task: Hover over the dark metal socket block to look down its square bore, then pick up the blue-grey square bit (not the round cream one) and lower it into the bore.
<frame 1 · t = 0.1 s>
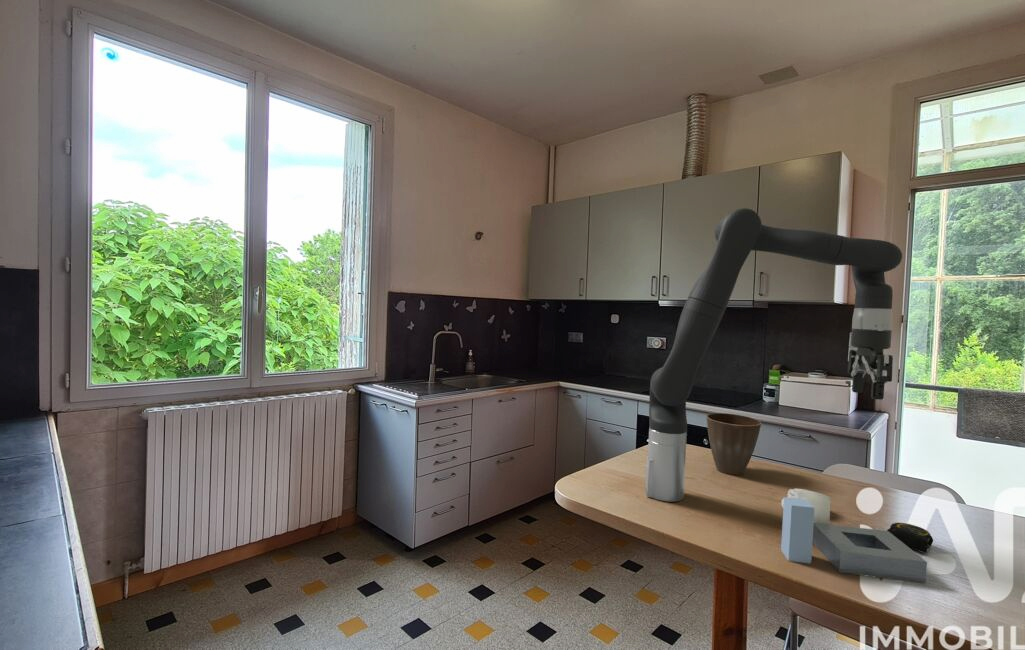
hand: (866, 395, 111), 29 cm above the table, fingers open, 8 cm apart
square bit: (795, 556, 93), on the table
socket block: (864, 560, 92), on the table
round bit: (812, 531, 104), on the table
plant pot: (730, 471, 142), on the table
mechanical component: (804, 512, 115), on the table
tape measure: (910, 548, 98), on the table
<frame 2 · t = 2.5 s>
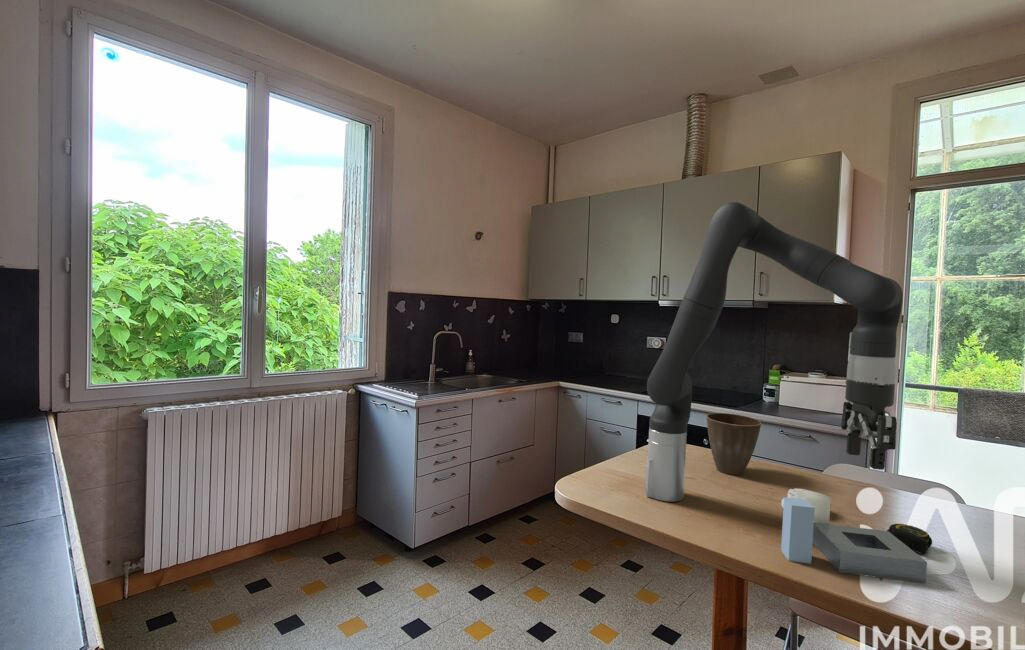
hand: (864, 461, 91), 20 cm above the table, fingers open, 8 cm apart
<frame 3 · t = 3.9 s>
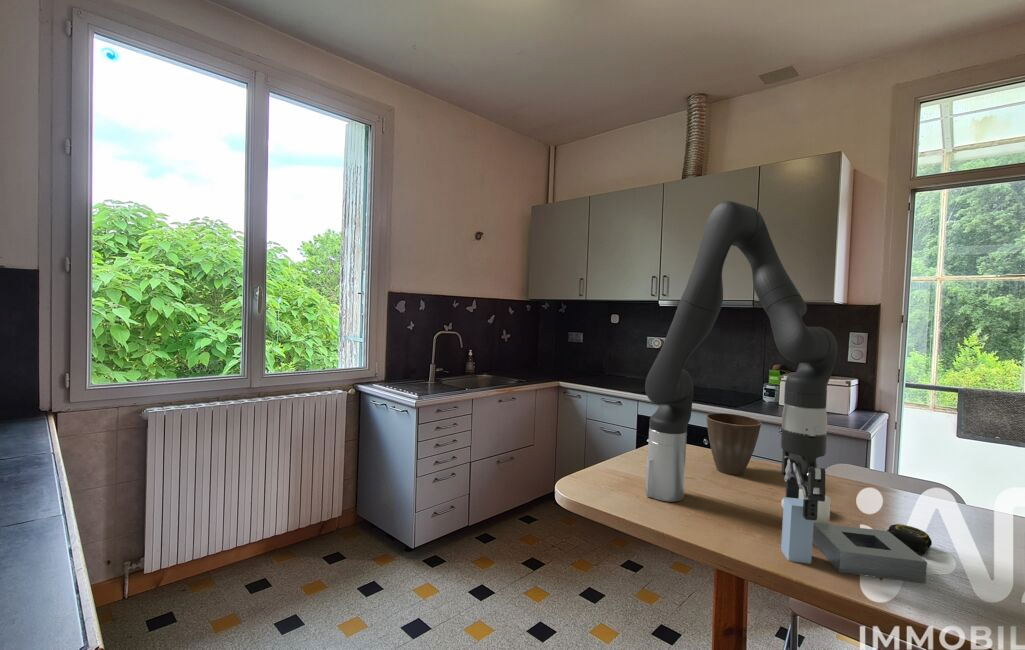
hand: (800, 509, 92), 10 cm above the table, fingers open, 8 cm apart
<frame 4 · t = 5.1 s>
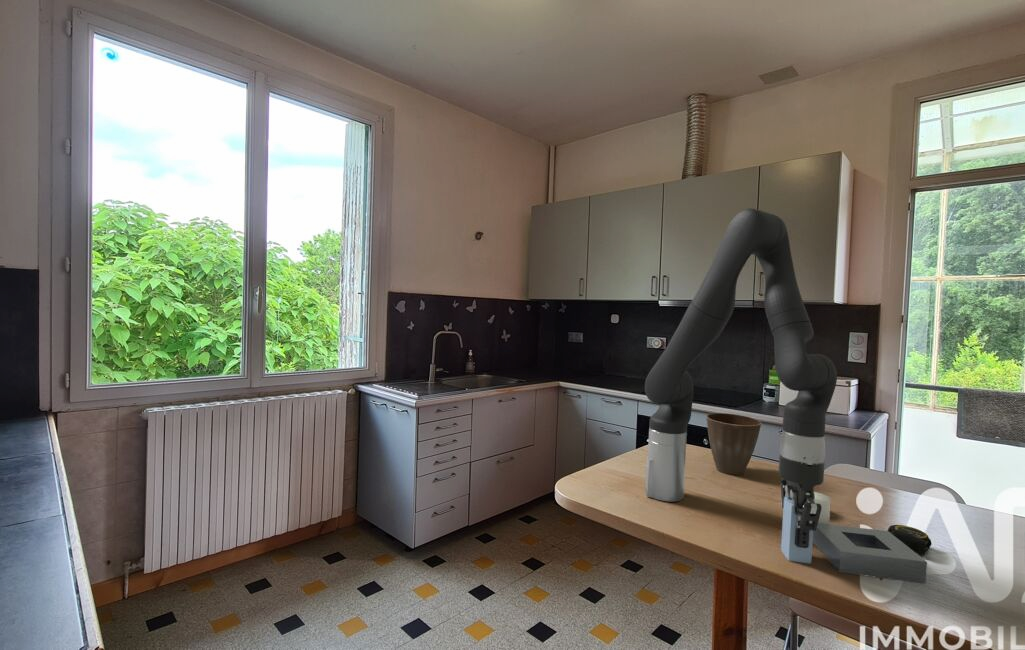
hand: (796, 540, 92), 3 cm above the table, fingers closed on square bit, 4 cm apart
square bit: (795, 556, 93), on the table, touching gripper
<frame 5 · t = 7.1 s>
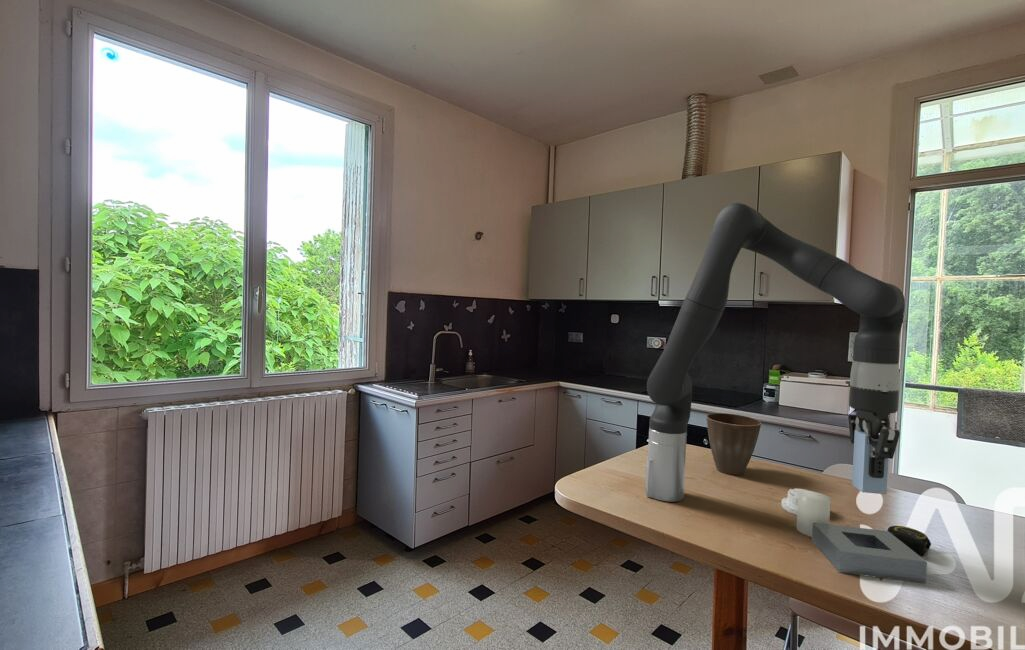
hand: (869, 472, 91), 18 cm above the table, fingers closed on square bit, 4 cm apart
square bit: (868, 489, 91), point 14 cm above the table, touching gripper
when the fingers open (5 cm above the table, at t = 9.3 s): square bit drops 1 cm, resting in socket block.
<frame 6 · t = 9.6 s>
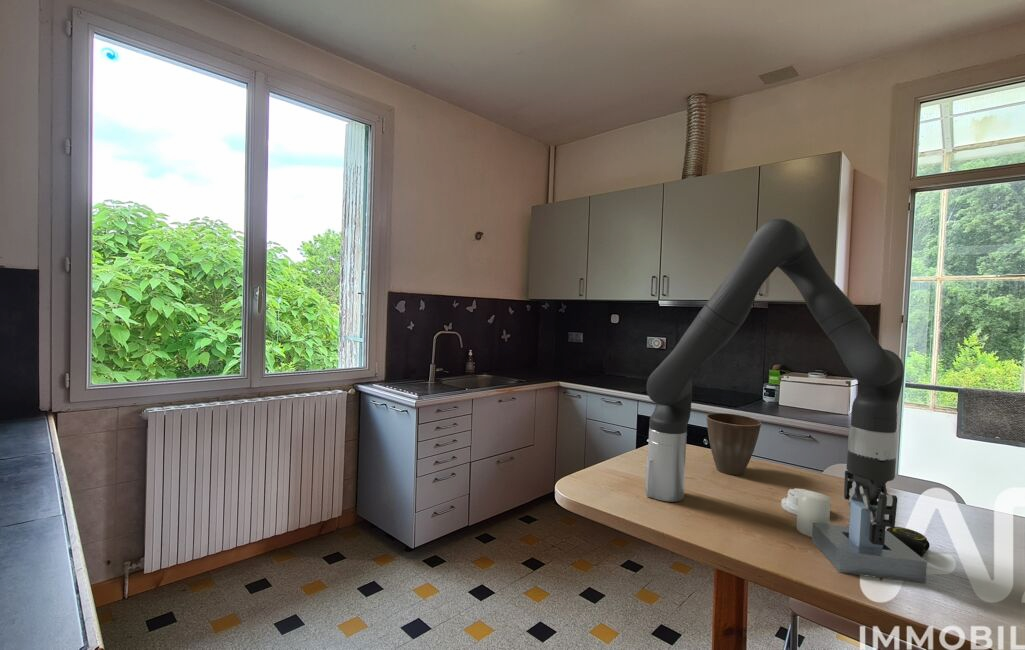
hand: (865, 534, 92), 5 cm above the table, fingers open, 7 cm apart
square bit: (864, 560, 92), resting in socket block
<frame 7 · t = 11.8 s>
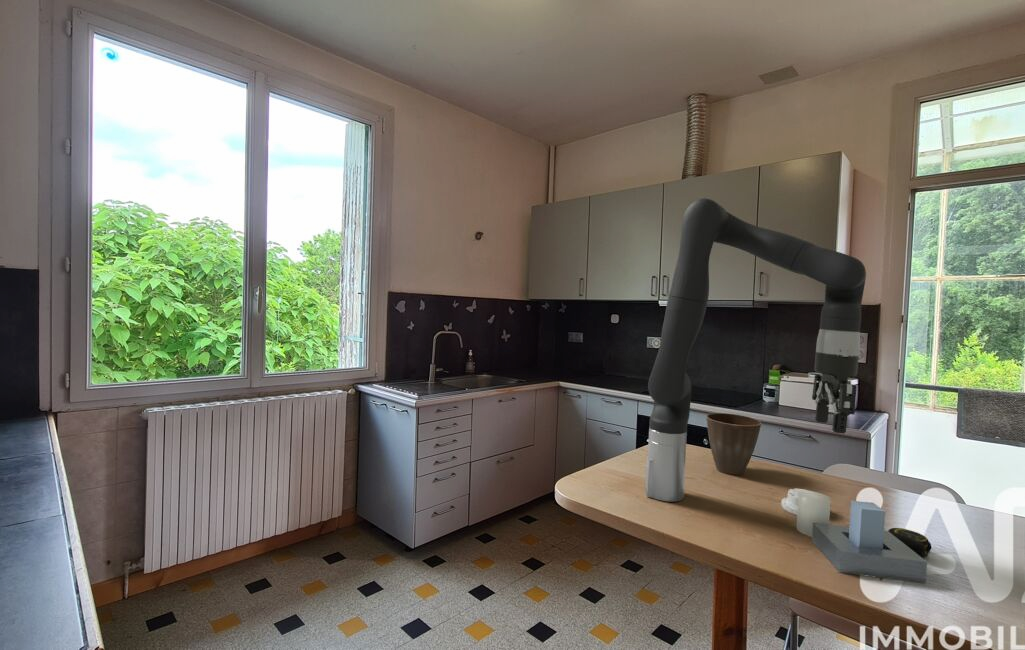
hand: (829, 427, 100), 24 cm above the table, fingers open, 8 cm apart
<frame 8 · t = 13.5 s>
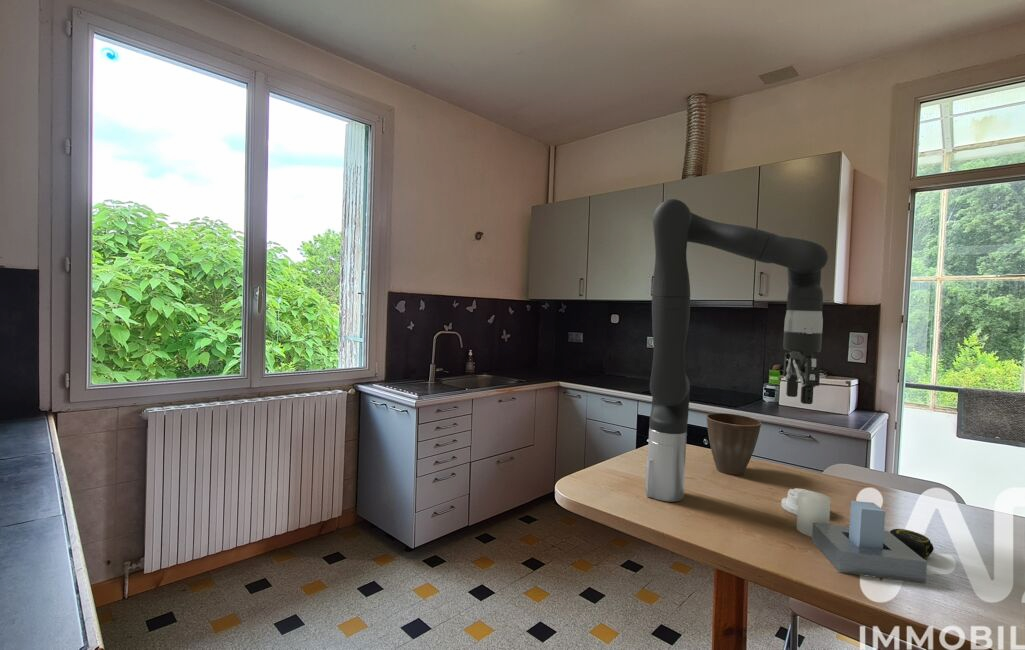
hand: (798, 399, 109), 28 cm above the table, fingers open, 8 cm apart
at the end: square bit 0.0 cm off-centre on the socket block, point 0.0 cm above the socket block's base; square bit tilted 0°; the gripper is holding nothing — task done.
